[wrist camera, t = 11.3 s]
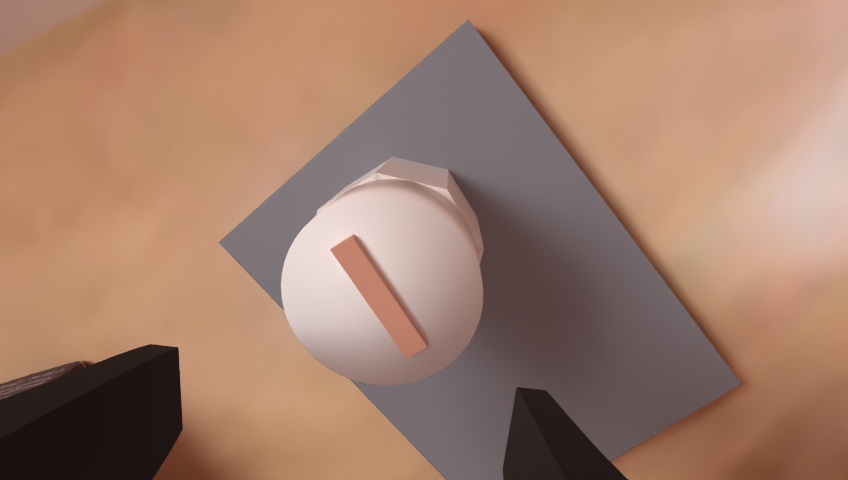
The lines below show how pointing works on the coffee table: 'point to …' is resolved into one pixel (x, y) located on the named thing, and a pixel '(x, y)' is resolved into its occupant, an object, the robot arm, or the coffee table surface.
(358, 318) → the knob
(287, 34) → the coffee table surface
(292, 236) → the board
